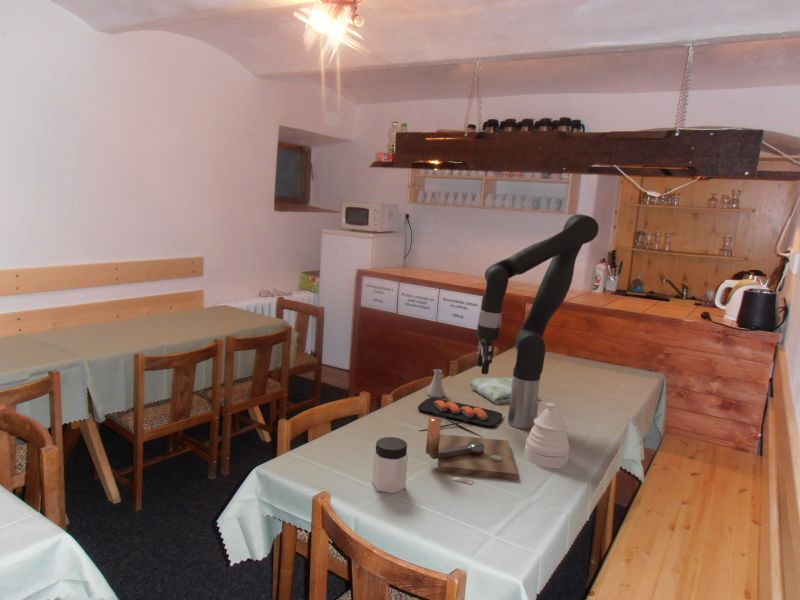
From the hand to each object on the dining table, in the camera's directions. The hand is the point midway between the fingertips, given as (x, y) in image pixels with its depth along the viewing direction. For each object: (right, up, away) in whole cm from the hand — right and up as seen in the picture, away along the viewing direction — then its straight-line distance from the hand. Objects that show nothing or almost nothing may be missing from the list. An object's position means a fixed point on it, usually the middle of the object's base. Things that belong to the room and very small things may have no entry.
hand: (482, 369), depth 198 cm
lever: (-12, -21, -29) cm, 38 cm away
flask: (-14, -13, +27) cm, 34 cm away
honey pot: (+16, -25, -22) cm, 37 cm away
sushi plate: (-10, -19, +3) cm, 21 cm away
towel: (+13, -15, +34) cm, 39 cm away
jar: (-31, -25, -45) cm, 60 cm away
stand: (-6, -24, -28) cm, 37 cm away
